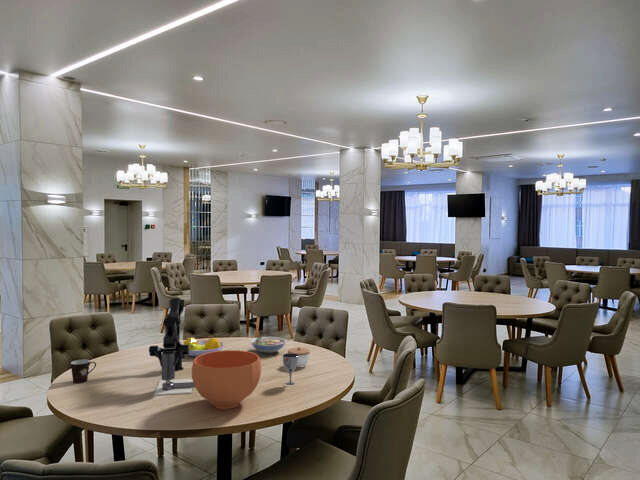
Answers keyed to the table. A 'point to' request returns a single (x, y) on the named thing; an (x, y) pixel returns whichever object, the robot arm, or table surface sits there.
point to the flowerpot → (226, 376)
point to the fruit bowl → (203, 346)
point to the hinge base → (174, 387)
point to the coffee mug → (80, 370)
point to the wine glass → (290, 364)
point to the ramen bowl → (268, 344)
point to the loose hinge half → (168, 365)
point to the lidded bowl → (301, 355)
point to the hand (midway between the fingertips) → (167, 365)
